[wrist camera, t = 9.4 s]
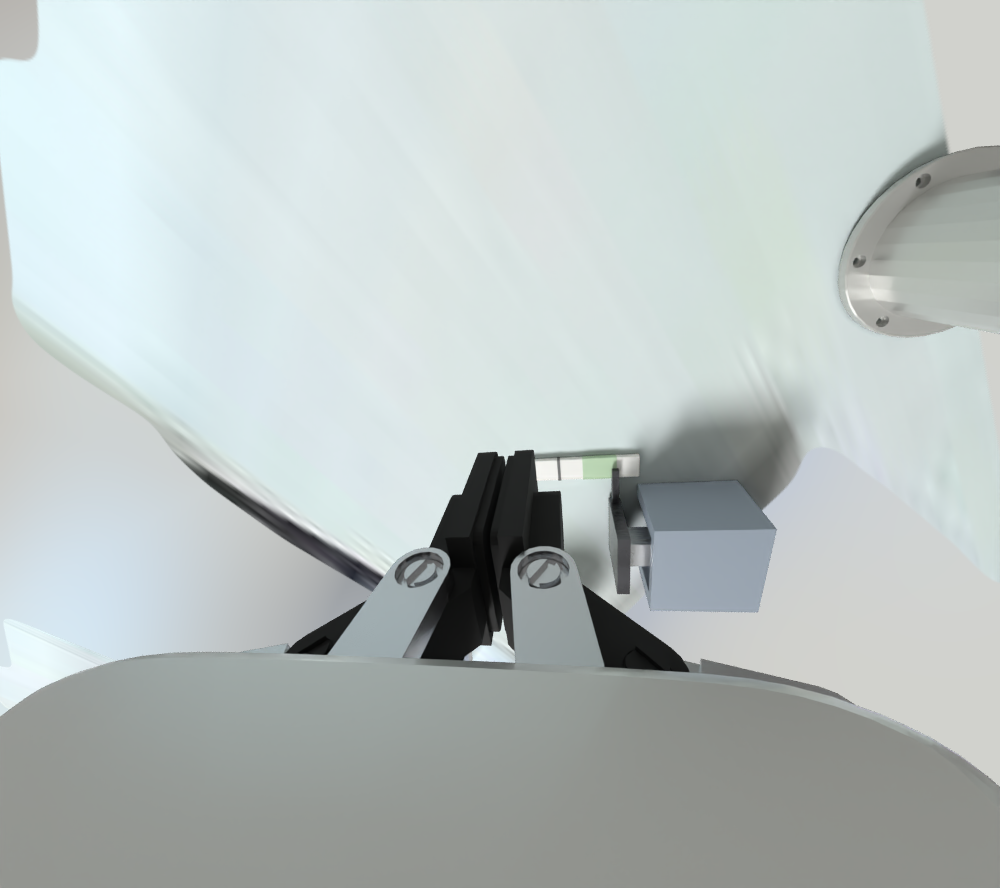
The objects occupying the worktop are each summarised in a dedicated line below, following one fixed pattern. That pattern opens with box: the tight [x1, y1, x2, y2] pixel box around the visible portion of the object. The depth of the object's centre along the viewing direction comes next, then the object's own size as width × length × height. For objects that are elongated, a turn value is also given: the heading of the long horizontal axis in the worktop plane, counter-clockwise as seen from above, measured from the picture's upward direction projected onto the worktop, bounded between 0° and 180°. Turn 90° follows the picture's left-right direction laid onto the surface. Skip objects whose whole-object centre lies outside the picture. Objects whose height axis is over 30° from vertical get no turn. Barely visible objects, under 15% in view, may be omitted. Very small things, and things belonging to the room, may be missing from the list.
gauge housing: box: [535, 454, 777, 612], centre depth 39 cm, size 21×14×8 cm, turn 97°
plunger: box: [609, 468, 651, 594], centre depth 39 cm, size 10×11×7 cm
